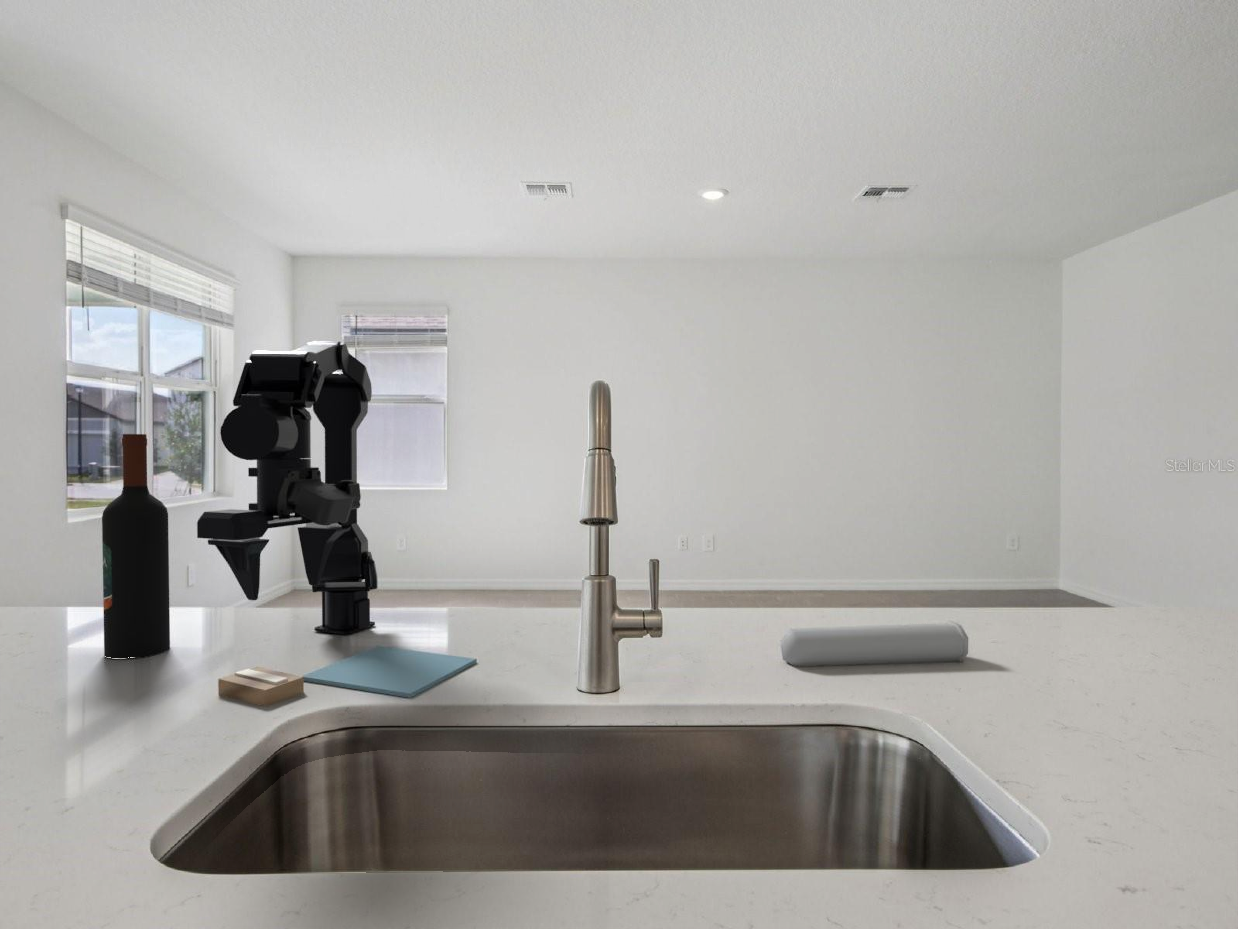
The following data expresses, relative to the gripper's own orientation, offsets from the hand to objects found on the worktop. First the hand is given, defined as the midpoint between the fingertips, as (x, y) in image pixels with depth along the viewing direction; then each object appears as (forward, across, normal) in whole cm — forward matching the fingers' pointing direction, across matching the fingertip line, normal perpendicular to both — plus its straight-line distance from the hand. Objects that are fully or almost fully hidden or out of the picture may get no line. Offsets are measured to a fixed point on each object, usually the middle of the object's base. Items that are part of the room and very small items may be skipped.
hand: (284, 592), depth 83 cm
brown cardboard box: (+12, -2, +2) cm, 12 cm away
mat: (+12, +10, -8) cm, 17 cm away
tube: (+12, +36, -65) cm, 75 cm away
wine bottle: (+12, +5, +31) cm, 33 cm away
